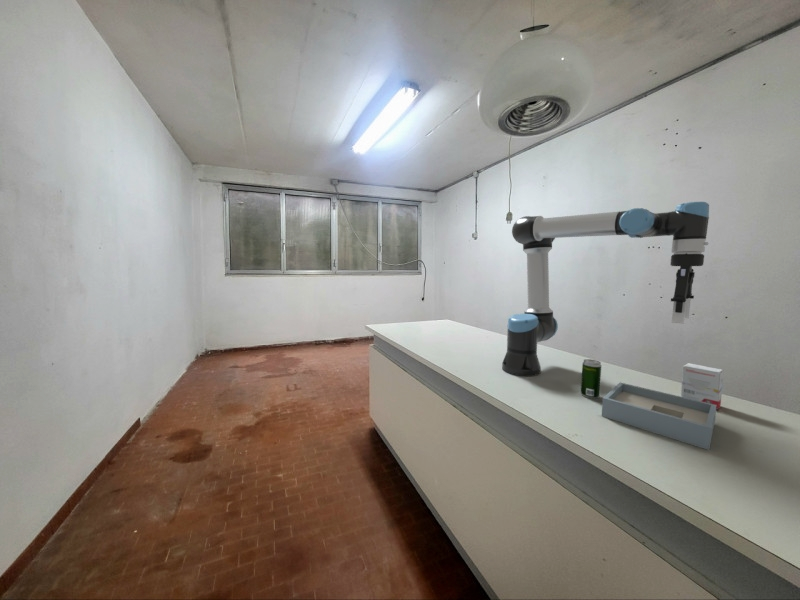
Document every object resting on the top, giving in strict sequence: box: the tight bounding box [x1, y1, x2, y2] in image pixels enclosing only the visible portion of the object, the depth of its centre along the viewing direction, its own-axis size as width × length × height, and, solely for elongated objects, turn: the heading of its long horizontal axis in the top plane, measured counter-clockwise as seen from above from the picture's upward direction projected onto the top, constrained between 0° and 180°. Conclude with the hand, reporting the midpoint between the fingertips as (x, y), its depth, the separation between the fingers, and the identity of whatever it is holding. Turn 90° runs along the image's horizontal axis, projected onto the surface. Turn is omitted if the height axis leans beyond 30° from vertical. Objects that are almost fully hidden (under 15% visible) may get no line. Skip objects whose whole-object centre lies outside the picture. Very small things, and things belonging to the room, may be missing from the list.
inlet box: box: [601, 381, 717, 451], centre depth 85 cm, size 22×18×6 cm
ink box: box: [680, 362, 724, 410], centre depth 95 cm, size 9×5×12 cm, turn 33°
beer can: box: [580, 358, 602, 400], centre depth 101 cm, size 5×5×12 cm
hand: (680, 320), depth 96 cm, fingers open, 13 cm apart
